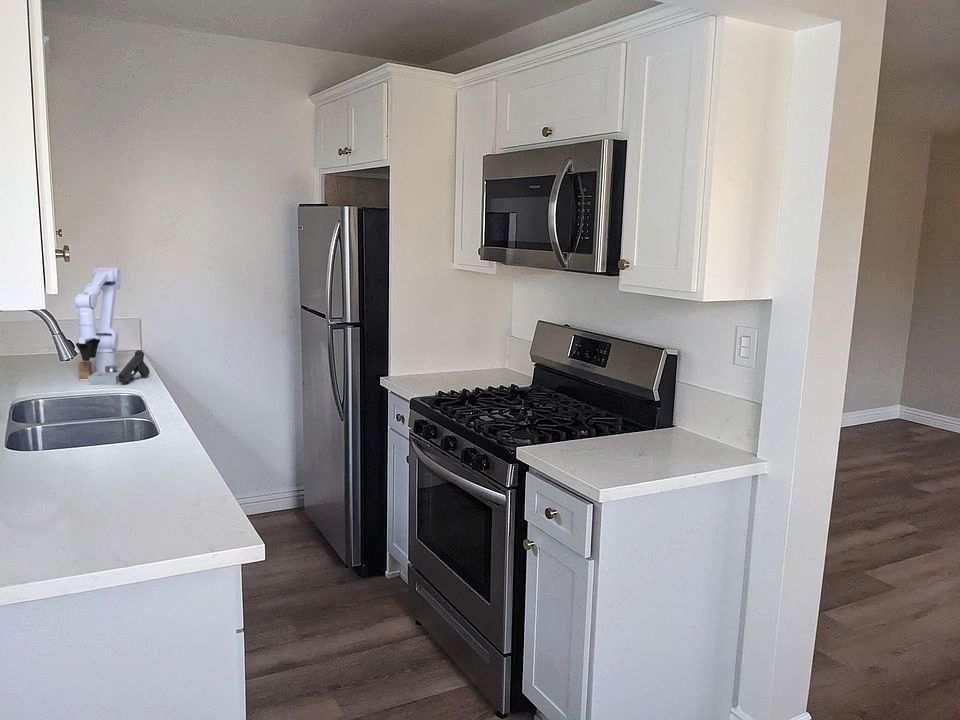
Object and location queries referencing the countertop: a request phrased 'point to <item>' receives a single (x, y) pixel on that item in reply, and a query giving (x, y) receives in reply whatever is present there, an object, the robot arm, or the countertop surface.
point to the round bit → (111, 368)
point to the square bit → (85, 370)
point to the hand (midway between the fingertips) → (89, 359)
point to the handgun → (134, 368)
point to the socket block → (104, 378)
